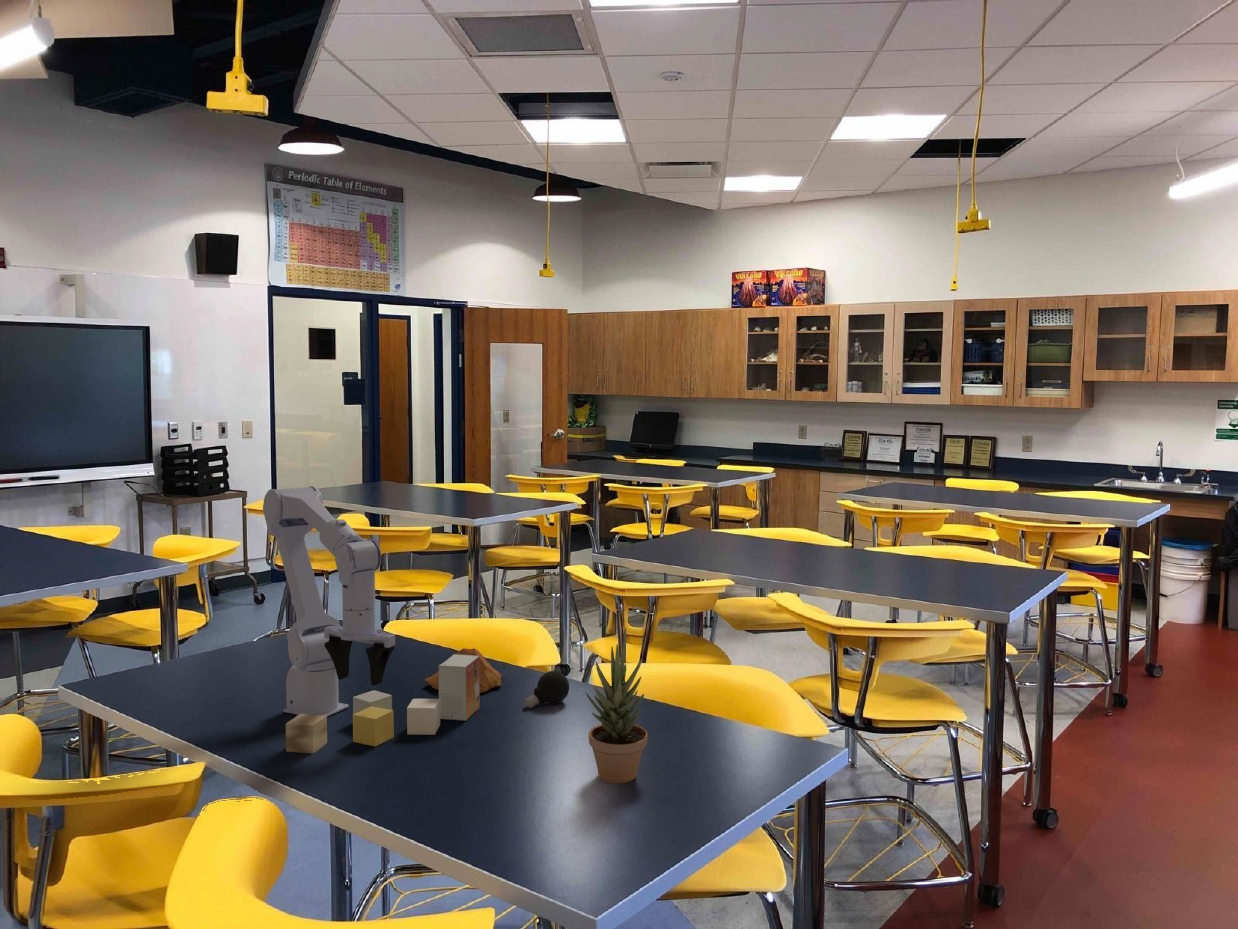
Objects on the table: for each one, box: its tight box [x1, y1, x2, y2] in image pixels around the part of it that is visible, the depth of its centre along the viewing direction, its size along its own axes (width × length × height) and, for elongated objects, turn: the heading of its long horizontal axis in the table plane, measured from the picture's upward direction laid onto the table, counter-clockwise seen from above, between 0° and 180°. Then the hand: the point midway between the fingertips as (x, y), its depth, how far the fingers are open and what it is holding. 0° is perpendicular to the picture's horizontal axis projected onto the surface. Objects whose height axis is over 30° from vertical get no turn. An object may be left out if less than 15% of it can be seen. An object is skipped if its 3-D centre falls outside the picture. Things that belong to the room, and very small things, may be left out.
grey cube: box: [352, 689, 393, 715], centre depth 178 cm, size 5×5×5 cm
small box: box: [438, 653, 481, 721], centre depth 183 cm, size 8×6×10 cm
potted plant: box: [585, 627, 649, 784], centre depth 154 cm, size 10×10×25 cm
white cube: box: [406, 698, 441, 736], centre depth 175 cm, size 5×5×5 cm
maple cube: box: [285, 714, 328, 754], centre depth 166 cm, size 5×5×5 cm
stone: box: [424, 647, 503, 694], centre depth 200 cm, size 15×15×10 cm
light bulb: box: [524, 670, 570, 709], centre depth 189 cm, size 6×6×10 cm
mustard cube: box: [352, 706, 395, 747], centre depth 170 cm, size 5×5×5 cm
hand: (359, 680), depth 173 cm, fingers open, 7 cm apart
